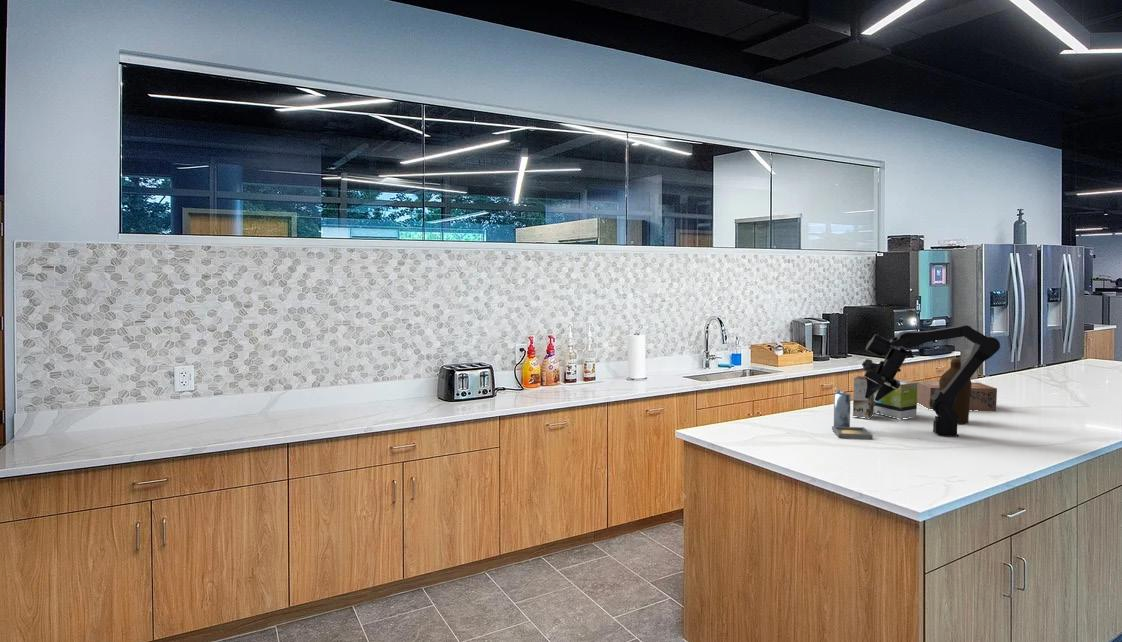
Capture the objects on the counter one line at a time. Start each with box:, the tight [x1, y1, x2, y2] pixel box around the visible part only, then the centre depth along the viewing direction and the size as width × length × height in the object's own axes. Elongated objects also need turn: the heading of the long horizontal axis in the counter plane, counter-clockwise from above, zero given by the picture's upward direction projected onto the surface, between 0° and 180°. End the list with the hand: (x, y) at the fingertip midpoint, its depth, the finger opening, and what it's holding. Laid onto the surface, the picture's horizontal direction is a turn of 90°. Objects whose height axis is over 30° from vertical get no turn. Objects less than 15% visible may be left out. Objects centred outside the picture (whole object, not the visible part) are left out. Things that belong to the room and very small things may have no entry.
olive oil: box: [938, 357, 972, 425], centre depth 240 cm, size 11×11×25 cm
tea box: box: [874, 378, 918, 419], centre depth 252 cm, size 15×10×15 cm, turn 25°
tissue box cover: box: [916, 381, 998, 412], centre depth 266 cm, size 26×14×10 cm, turn 81°
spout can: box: [833, 386, 851, 427], centre depth 232 cm, size 6×6×16 cm
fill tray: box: [831, 425, 873, 440], centre depth 223 cm, size 11×11×2 cm
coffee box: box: [852, 375, 874, 419], centre depth 251 cm, size 9×6×16 cm
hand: (871, 399), depth 229 cm, fingers open, 9 cm apart
